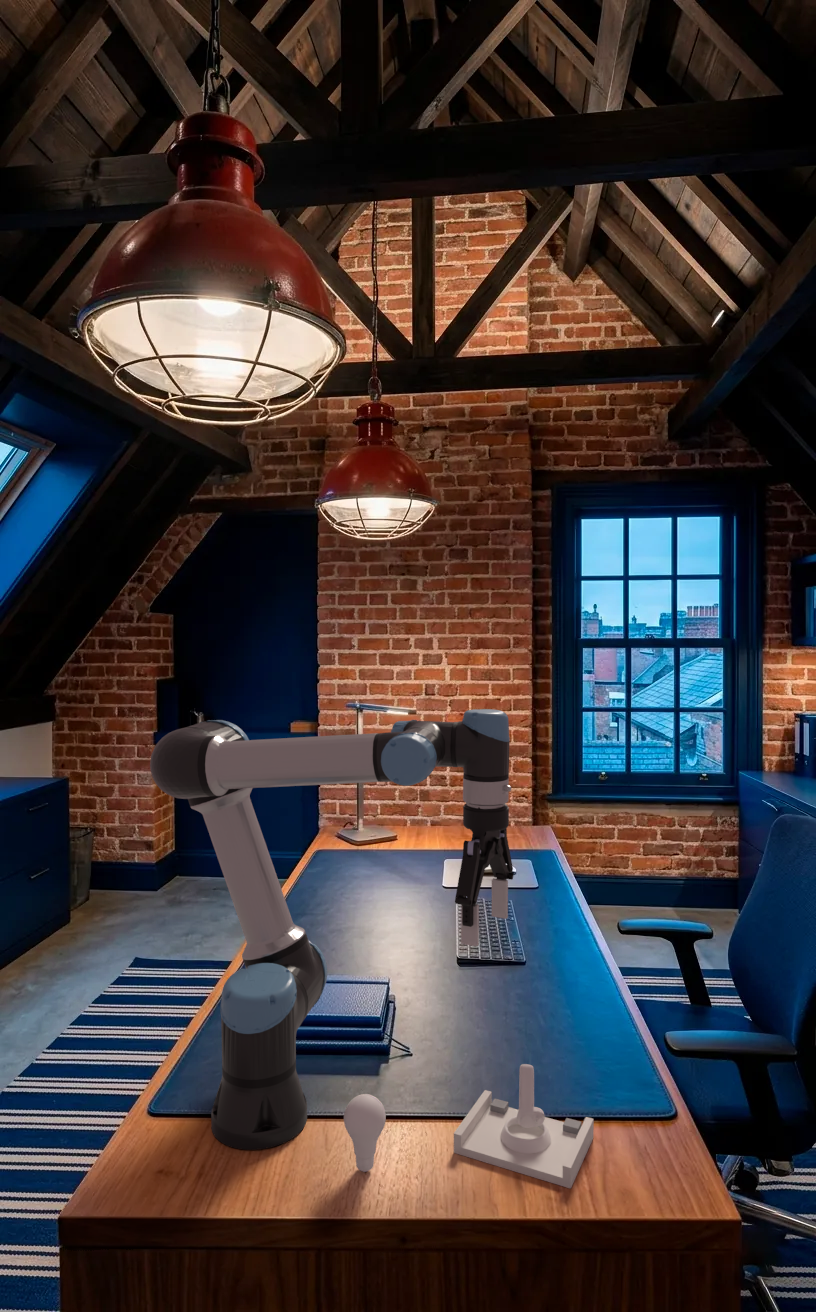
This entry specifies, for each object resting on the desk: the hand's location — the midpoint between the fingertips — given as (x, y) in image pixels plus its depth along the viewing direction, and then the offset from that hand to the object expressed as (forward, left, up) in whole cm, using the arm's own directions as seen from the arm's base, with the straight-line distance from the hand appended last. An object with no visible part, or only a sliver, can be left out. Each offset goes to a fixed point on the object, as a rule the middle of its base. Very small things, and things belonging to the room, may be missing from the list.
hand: (485, 930), depth 140 cm
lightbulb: (-9, -25, -29) cm, 39 cm away
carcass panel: (+10, -9, -29) cm, 32 cm away
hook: (+10, -9, -28) cm, 31 cm away
